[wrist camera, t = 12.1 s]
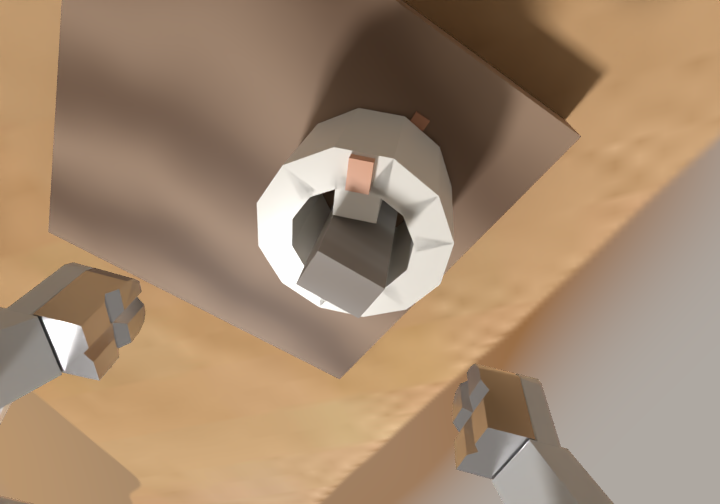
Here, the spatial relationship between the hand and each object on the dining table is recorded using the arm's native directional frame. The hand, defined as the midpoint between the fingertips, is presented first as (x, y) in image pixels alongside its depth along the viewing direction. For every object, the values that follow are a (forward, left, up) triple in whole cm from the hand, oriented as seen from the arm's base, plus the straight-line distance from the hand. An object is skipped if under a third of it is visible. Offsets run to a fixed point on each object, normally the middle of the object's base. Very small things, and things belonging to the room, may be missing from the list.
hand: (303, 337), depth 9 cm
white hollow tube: (0, 0, -8) cm, 8 cm away
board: (-3, +4, -10) cm, 11 cm away
